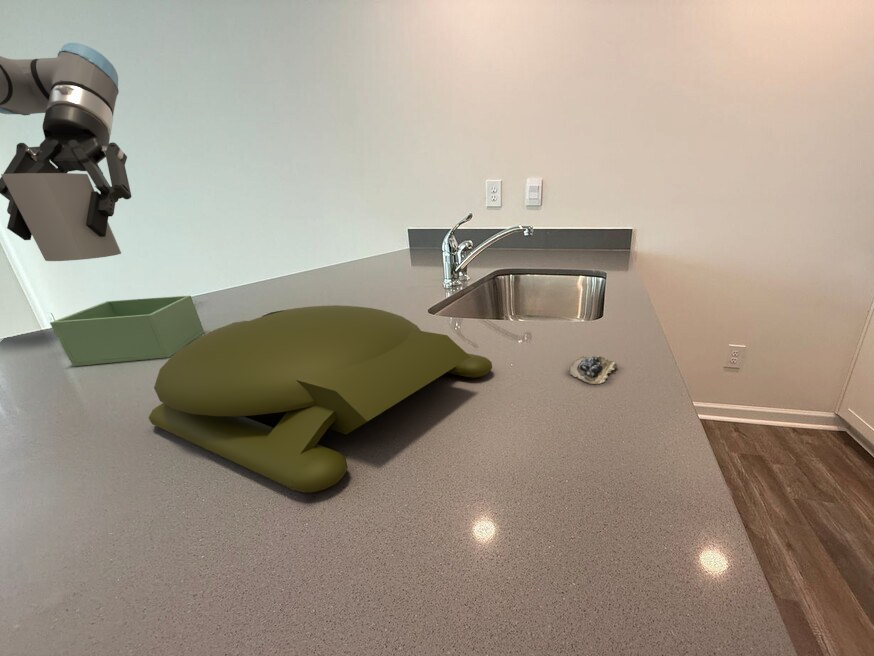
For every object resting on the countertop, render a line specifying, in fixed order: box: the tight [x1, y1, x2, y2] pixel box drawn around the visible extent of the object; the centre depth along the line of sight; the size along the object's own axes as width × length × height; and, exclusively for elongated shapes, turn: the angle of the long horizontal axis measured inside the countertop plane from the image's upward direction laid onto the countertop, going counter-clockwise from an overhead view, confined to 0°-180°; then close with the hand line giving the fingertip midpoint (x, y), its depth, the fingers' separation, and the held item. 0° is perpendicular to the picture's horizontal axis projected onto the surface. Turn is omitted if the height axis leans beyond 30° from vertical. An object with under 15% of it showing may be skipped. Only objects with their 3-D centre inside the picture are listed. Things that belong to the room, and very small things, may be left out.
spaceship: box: [148, 304, 493, 494], centre depth 51 cm, size 35×31×10 cm
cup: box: [0, 172, 122, 262], centre depth 64 cm, size 9×9×12 cm
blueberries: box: [569, 355, 618, 385], centre depth 56 cm, size 7×8×2 cm
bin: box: [49, 295, 205, 367], centre depth 69 cm, size 13×13×7 cm
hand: (57, 232), depth 62 cm, fingers closed on cup, 9 cm apart
